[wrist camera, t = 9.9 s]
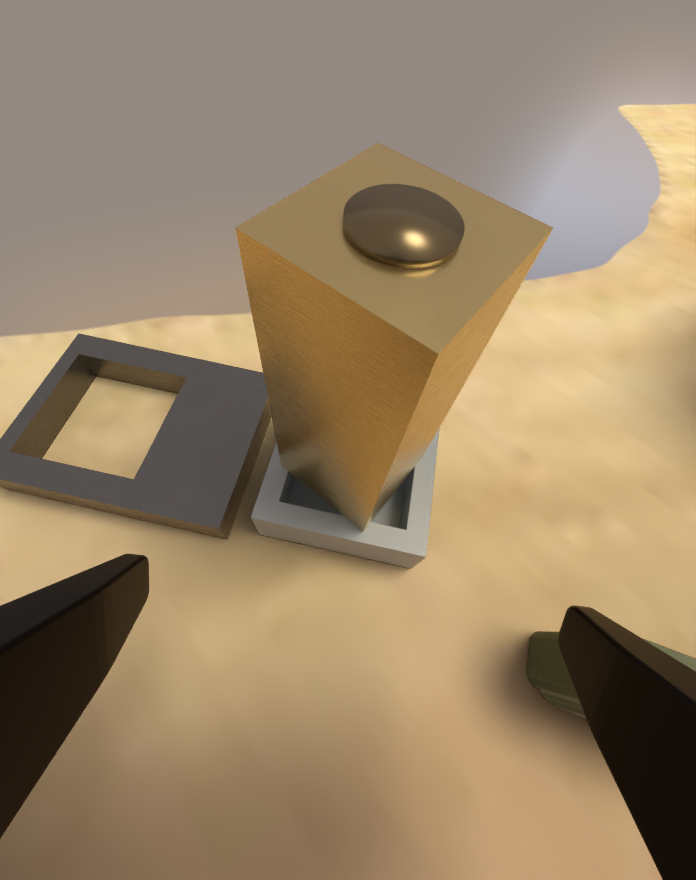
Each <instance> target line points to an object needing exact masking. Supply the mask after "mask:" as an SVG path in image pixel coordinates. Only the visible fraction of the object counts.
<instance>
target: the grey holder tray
mask: <svg viewBox="0 0 696 880" xmlns="http://www.w3.org/2000/svg"><path fill="white" fill-rule="evenodd" d="M96 376H100V377H105V378H109V379H114V380H119V381H123V382H128V383H133V384H137V385H142V386H146V387H151V388H156V389H160V390H165V391H170V392H174V393H178V395H177V397H176V399H175V401H174V403H173V405H172V407H171V409H170V410H169V412H168V414H167V416H166V418H165V420H164V422H163V424H162V426H161V428H160V430H159V432H158V434H157V436H156V438H155V439H154V441H153V443H152V445H151V447H150V449H149V451H148V453H147V455H146V457H145V459H144V461H143V463H142V465H141V467H140V469H139V470H138V472H137V474H136V476H135V478H134V479H129V478H125V477H120V476H116V475H112V474H107V473H103V472H98V471H94V470H89V469H85V468H80V467H76V466H71V465H67V464H63V463H58V462H54V461H49V460H45V459H42V457H43V456H44V454H45V453H46V451H47V450H48V448H49V447H50V445H51V444H52V442H53V441H54V439H55V438H56V436H57V435H58V433H59V432H60V430H61V428H62V427H63V425H64V424H65V422H66V421H67V419H68V418H69V416H70V415H71V413H72V412H73V410H74V409H75V407H76V406H77V404H78V403H79V401H80V400H81V398H82V397H83V395H84V394H85V392H86V391H87V389H88V388H89V386H90V385H91V383H92V382H93V380H94V379H95V377H96ZM271 416H272V415H271V410H270V405H269V399H268V394H267V389H266V384H265V379H264V373H262V372H257V371H252V370H247V369H243V368H238V367H233V366H229V365H224V364H219V363H215V362H210V361H205V360H201V359H196V358H191V357H187V356H182V355H177V354H172V353H168V352H163V351H158V350H154V349H149V348H144V347H140V346H135V345H130V344H126V343H121V342H116V341H111V340H107V339H102V338H97V337H93V336H88V335H83V334H78V335H77V336H76V338H75V339H74V340H73V342H72V343H71V344H70V346H69V347H68V348H67V350H66V351H65V353H64V354H63V355H62V357H61V358H60V359H59V361H58V362H57V363H56V365H55V366H54V367H53V369H52V370H51V371H50V373H49V374H48V375H47V377H46V378H45V379H44V381H43V382H42V384H41V385H40V386H39V388H38V389H37V390H36V392H35V393H34V394H33V396H32V397H31V398H30V400H29V401H28V402H27V404H26V405H25V406H24V408H23V409H22V411H21V412H20V413H19V415H18V416H17V417H16V419H15V420H14V421H13V423H12V424H11V425H10V427H9V428H8V429H7V431H6V432H5V433H4V435H3V436H2V438H1V439H0V486H1V487H3V488H5V489H9V490H13V491H17V492H22V493H26V494H31V495H35V496H39V497H44V498H48V499H53V500H57V501H61V502H66V503H70V504H75V505H79V506H83V507H88V508H92V509H96V510H101V511H105V512H110V513H114V514H118V515H123V516H127V517H132V518H136V519H140V520H145V521H149V522H154V523H158V524H162V525H167V526H171V527H175V528H180V529H184V530H189V531H193V532H197V533H202V534H206V535H211V536H215V537H219V538H224V539H228V536H229V533H230V531H231V528H232V525H233V522H234V519H235V517H236V514H237V511H238V508H239V505H240V503H241V500H242V497H243V494H244V492H245V489H246V486H247V483H248V480H249V478H250V475H251V472H252V469H253V466H254V464H255V461H256V458H257V455H258V452H259V450H260V447H261V444H262V441H263V439H264V436H265V433H266V430H267V427H268V425H269V422H270V419H271Z"/></svg>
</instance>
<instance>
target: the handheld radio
mask: <svg viewBox="0 0 696 880" xmlns="http://www.w3.org/2000/svg"><path fill="white" fill-rule="evenodd" d="M558 635H559V632H535V633H534V634H533V635H532V636H531V637H530V642H529V652H528V662H527V678H528V679H529V681H530V682H531V684H532V685H533V686H534V687H536V688H538V689H539V690H540V691H541V693H542V696H543V697H544V698H545V699H546V700H547V701H548V702H550V703H551V704H552V705H553V706H556V707H558V708H561V709H563V710H566V711H568V712H570V713H573V714H575V715H578V716H580V717H583V718H585V715H584V713H583V710H582V708H581V705H580V702H579V700H578V697H577V694H576V692H575V689H574V687H573V684H572V681H571V679H570V676H569V673H568V671H567V668H566V666H565V663H564V660H563V658H562V655H561V653H560V650H559V646H558ZM642 639H643V638H642ZM644 640H645V639H644ZM645 641H647V642H648V643H650V644H652V645H653V646H655V647H657V648H658V649H660V650H662V651H663V652H665V653H666V654H668V655H670V656H671V657H673V658H675V659H676V660H678V661H680V662H681V663H683V664H684V665H686V666H688V667H689V668H691V669H693V670H694V671H696V658H693V657H690V656H688V655H685V654H682V653H680V652H677V651H674V650H672V649H669V648H666V647H664V646H661V645H658V644H656V643H653V642H650V641H648V640H645ZM585 719H586V718H585Z"/></svg>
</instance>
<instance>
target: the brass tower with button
mask: <svg viewBox="0 0 696 880" xmlns="http://www.w3.org/2000/svg"><path fill="white" fill-rule="evenodd" d="M552 229H553V228H552V227H550V226H549V225H546V224H544V223H542V222H540V221H538V220H536V219H534V218H532V217H530V216H528V215H526V214H524V213H522V212H520V211H518V210H516V209H513V208H511V207H509V206H507V205H505V204H503V203H501V202H499V201H497V200H495V199H493V198H491V197H489V196H486V195H485V194H482V193H481V192H478V191H476V190H474V189H472V188H470V187H468V186H466V185H464V184H462V183H460V182H458V181H456V180H454V179H452V178H450V177H448V176H445V175H443V174H441V173H439V172H437V171H435V170H433V169H431V168H429V167H427V166H425V165H423V164H421V163H419V162H416V161H415V160H412V159H410V158H408V157H406V156H404V155H402V154H400V153H398V152H396V151H394V150H392V149H390V148H388V147H386V146H384V145H382V144H379V143H377V144H376V145H374V146H372V147H370V148H369V149H367V150H365V151H364V152H362V153H360V154H358V155H357V156H355V157H353V158H352V159H350V160H348V161H347V162H345V163H343V164H342V165H340V166H338V167H337V168H335V169H333V170H332V171H330V172H328V173H326V174H325V175H323V176H321V177H320V178H318V179H316V180H315V181H313V182H311V183H310V184H308V185H306V186H305V187H303V188H301V189H299V190H298V191H296V192H295V193H293V194H291V195H289V196H288V197H286V198H284V199H283V200H281V201H279V202H277V203H276V204H274V205H273V206H271V207H269V208H267V209H266V210H264V211H262V212H261V213H259V214H257V215H256V216H254V217H252V218H251V219H249V220H247V221H246V222H244V223H242V224H241V225H239V226H237V227H236V233H237V239H238V244H239V249H240V254H241V259H242V264H243V270H244V275H245V280H246V285H247V290H248V296H249V301H250V306H251V311H252V316H253V322H254V327H255V332H256V337H257V342H258V347H259V353H260V358H261V363H262V368H263V373H264V379H265V384H266V389H267V394H268V399H269V405H270V410H271V415H272V420H273V425H274V430H275V436H276V441H277V446H278V451H279V456H280V462H281V466H282V467H283V468H284V469H285V470H287V471H288V472H289V473H290V474H292V475H293V476H294V477H295V478H297V479H298V480H299V481H300V482H302V483H303V484H304V485H305V486H307V487H308V488H309V489H310V490H312V491H313V492H314V493H315V494H317V495H318V496H319V497H320V498H322V499H323V500H324V501H325V502H327V503H328V504H329V505H330V506H332V507H333V508H334V509H335V510H336V511H338V512H339V513H340V514H341V515H343V516H344V517H345V518H346V519H348V520H349V521H350V522H351V523H353V524H354V525H355V526H356V527H358V528H359V529H360V530H361V531H363V532H364V530H365V529H366V528H367V527H368V525H369V524H370V523H371V522H372V520H373V519H374V518H375V516H376V515H377V514H378V513H379V511H380V510H381V509H382V508H383V506H384V505H385V504H386V503H387V501H388V500H389V499H390V497H391V496H392V495H393V494H394V492H395V491H396V490H397V489H398V487H399V486H400V485H401V483H402V482H403V481H404V480H405V478H406V477H407V476H408V475H409V473H410V472H411V471H412V470H413V468H414V467H415V466H416V464H417V463H418V462H419V461H420V459H421V458H422V457H423V455H424V454H425V452H426V450H427V448H428V447H429V445H430V443H431V441H432V440H433V438H434V436H435V434H436V433H437V431H438V429H439V427H440V426H441V424H442V422H443V420H444V419H445V417H446V415H447V413H448V412H449V410H450V408H451V406H452V405H453V403H454V401H455V399H456V398H457V396H458V394H459V392H460V391H461V389H462V387H463V385H464V384H465V382H466V380H467V378H468V377H469V375H470V373H471V371H472V370H473V368H474V366H475V364H476V363H477V361H478V359H479V357H480V356H481V354H482V352H483V350H484V349H485V347H486V345H487V343H488V342H489V340H490V338H491V336H492V335H493V333H494V331H495V329H496V328H497V326H498V324H499V322H500V321H501V319H502V317H503V315H504V313H505V312H506V310H507V308H508V306H509V305H510V303H511V301H512V299H513V298H514V296H515V294H516V292H517V291H518V289H519V287H520V285H521V284H522V282H523V280H524V278H525V277H526V275H527V273H528V271H529V270H530V268H531V266H532V264H533V263H534V261H535V259H536V257H537V256H538V254H539V252H540V250H541V249H542V247H543V245H544V243H545V242H546V240H547V238H548V236H549V235H550V233H551V231H552Z"/></svg>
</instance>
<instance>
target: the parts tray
mask: <svg viewBox="0 0 696 880" xmlns="http://www.w3.org/2000/svg"><path fill="white" fill-rule="evenodd" d="M438 436H439V429H438V431H437V433H436V434H435V436H434V438H433V440H432V441H431V443H430V445H429V447H428V448H427V450H426V452H425V454H424V455H423V457H422V458H421V459H420V461H419V462H418V463H417V464H416V466H415V467H414V468H413V470H412V471H411V472H410V473H409V475H408V476H407V477H406V478H405V480H404V481H403V482H402V483H401V485H400V486H399V487H398V489H397V490H396V491H395V492H394V494H393V495H392V496H391V497H390V499H389V500H388V501H387V503H386V504H385V505H384V506H383V508H382V509H381V510H380V511H379V513H378V514H377V515H376V516H375V518H374V519H373V520H372V522H371V523H370V524H369V525H368V527H367V528H366V529H365V530H364V532H363V531H361V530H360V529H359V528H358V527H356V526H355V525H354V524H353V523H351V522H350V521H349V520H348V519H346V518H345V517H344V516H343V515H341V514H340V513H339V512H338V511H336V510H335V509H334V508H333V507H332V506H330V505H329V504H328V503H327V502H325V501H324V500H323V499H322V498H320V497H319V496H318V495H317V494H315V493H314V492H313V491H312V490H310V489H309V488H308V487H307V486H305V485H304V484H303V483H302V482H300V481H299V480H298V479H297V478H295V477H294V476H293V475H292V474H290V473H289V472H288V471H287V470H285V469H284V468H283V467H282V466H281V462H280V456H279V451H278V446H277V441H276V444H275V447H274V450H273V453H272V456H271V459H270V462H269V465H268V468H267V471H266V474H265V477H264V480H263V483H262V486H261V489H260V492H259V495H258V498H257V500H256V503H255V506H254V509H253V512H252V515H251V519H252V521H253V523H254V525H255V527H256V529H257V531H258V533H259V534H260V535H265V536H269V537H273V538H278V539H282V540H287V541H291V542H295V543H300V544H304V545H309V546H313V547H317V548H322V549H326V550H331V551H335V552H339V553H344V554H348V555H353V556H357V557H362V558H366V559H370V560H375V561H379V562H384V563H388V564H392V565H397V566H401V567H406V568H410V569H411V568H413V567H414V566H415V565H416V564H418V563H419V562H420V561H421V560H423V559H424V558H425V557H426V551H427V542H428V532H429V523H430V513H431V503H432V494H433V484H434V475H435V465H436V455H437V446H438Z"/></svg>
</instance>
